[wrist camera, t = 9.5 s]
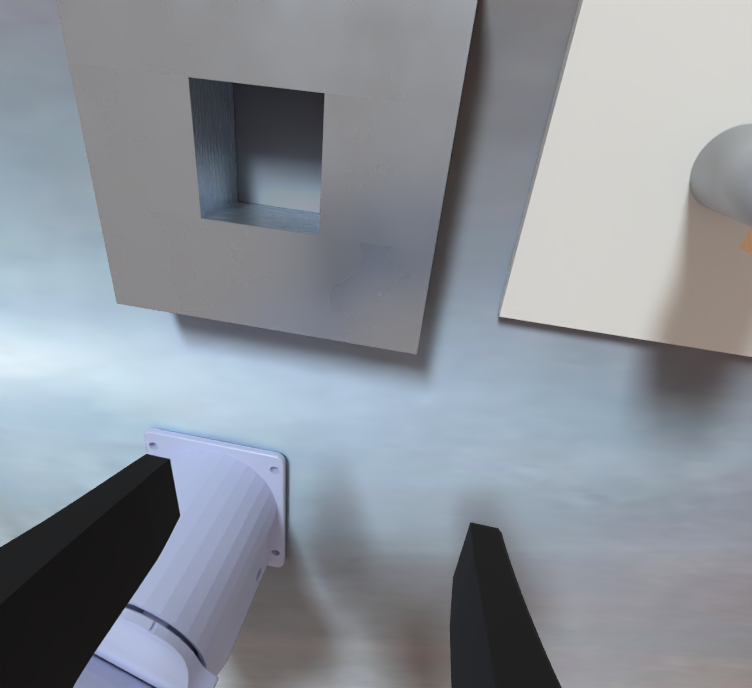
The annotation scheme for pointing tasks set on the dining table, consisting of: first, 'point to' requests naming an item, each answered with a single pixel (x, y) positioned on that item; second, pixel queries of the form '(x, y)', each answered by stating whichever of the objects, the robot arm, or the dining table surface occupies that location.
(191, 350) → the dining table surface
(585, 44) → the mat
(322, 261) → the socket block
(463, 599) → the robot arm
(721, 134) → the key
